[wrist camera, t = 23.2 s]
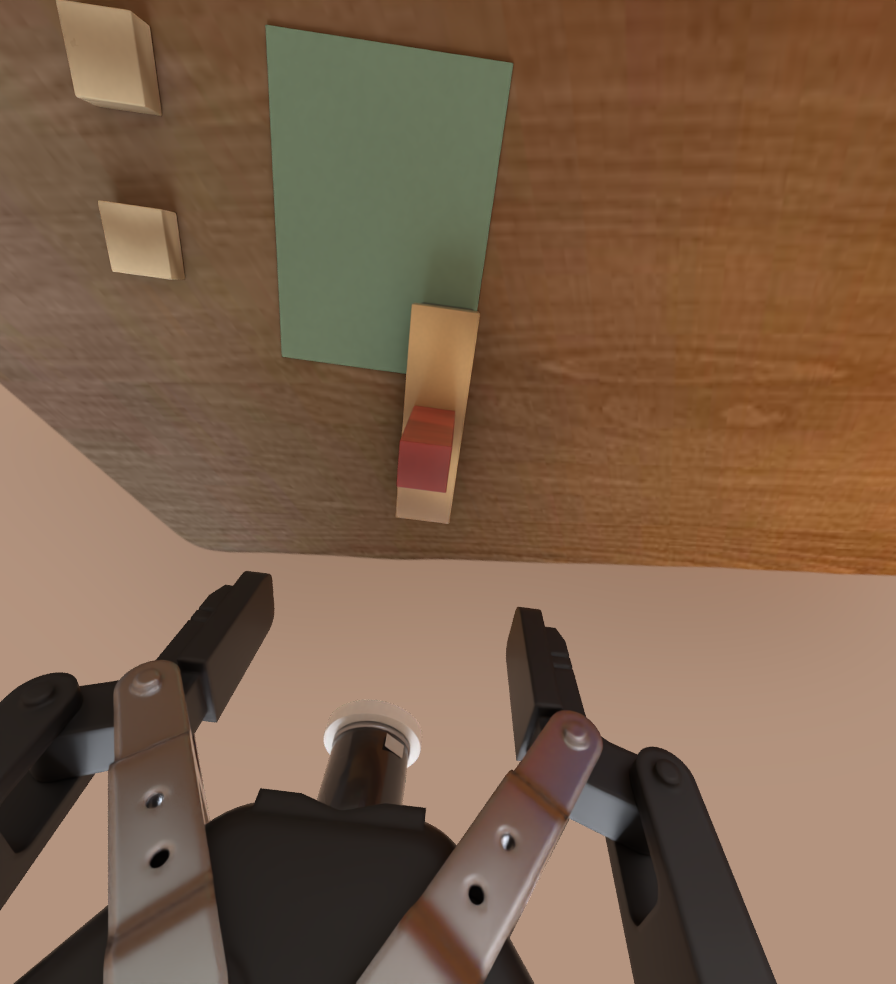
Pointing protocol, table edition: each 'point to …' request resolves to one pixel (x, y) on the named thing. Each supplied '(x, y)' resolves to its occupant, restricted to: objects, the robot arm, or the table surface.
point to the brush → (434, 408)
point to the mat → (377, 188)
